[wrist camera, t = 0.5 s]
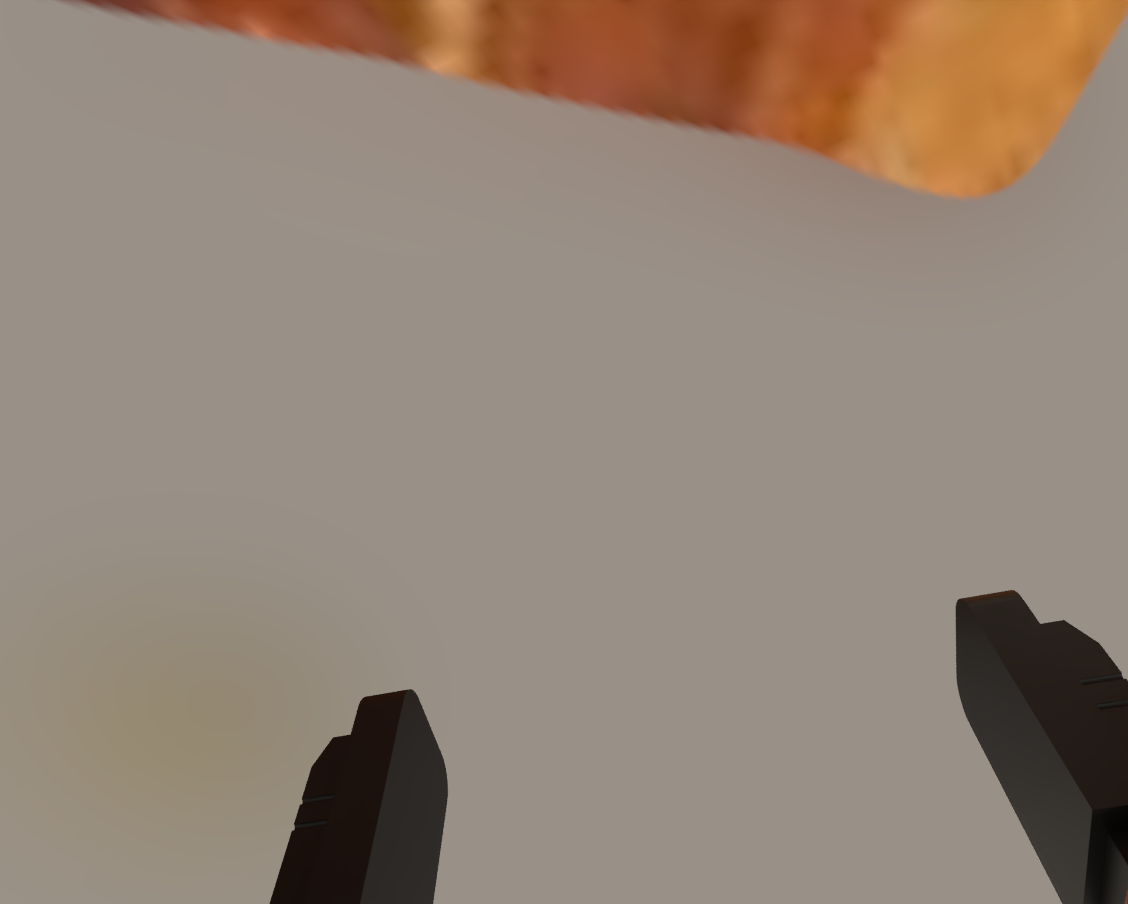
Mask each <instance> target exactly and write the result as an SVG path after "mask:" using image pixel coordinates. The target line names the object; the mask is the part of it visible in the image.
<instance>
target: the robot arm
mask: <svg viewBox="0 0 1128 904" xmlns="http://www.w3.org/2000/svg"><path fill="white" fill-rule="evenodd" d="M956 665H957V667H956V670H957V671H956V672H957V685H958V690H959V694H960V699H961V702H962V705H963V709H964V712H965V714H966V717H967V719H968V721H969V723H970V725H971V727H972V729H973V731H974V733H975V735H976V737H977V739H978V741H979V743H980V745H981V747H982V748H983V750H984V752H985V754H986V756H987V758H988V760H989V762H990V764H991V766H992V768H993V770H994V772H995V774H996V776H997V778H998V780H999V781H1000V783H1001V785H1002V787H1003V789H1004V791H1005V793H1006V795H1007V797H1008V799H1009V801H1010V803H1011V805H1012V807H1013V809H1014V811H1015V813H1016V814H1017V816H1018V818H1019V820H1020V822H1021V824H1022V826H1023V828H1024V830H1025V832H1026V834H1027V836H1028V837H1029V840H1030V842H1031V844H1032V846H1033V847H1034V849H1035V851H1036V853H1037V855H1038V857H1039V859H1040V861H1041V863H1042V865H1043V867H1044V869H1045V871H1046V873H1047V875H1048V877H1049V878H1050V880H1051V882H1052V884H1053V886H1054V888H1055V890H1056V892H1057V894H1058V896H1059V898H1060V900H1061V902H1062V904H1128V681H1127V679H1123V677H1122V673H1121V671H1120V670H1119V669H1118V667H1117V666H1116V665H1115V663H1114V662H1113V661H1112V659H1111V658H1110V657H1109V656H1108V654H1107V653H1106V652H1105V650H1104V649H1103V648H1102V646H1101V645H1100V644H1099V643H1098V642H1096V641H1095V640H1093V639H1092V638H1090V637H1089V636H1087V635H1086V634H1084V633H1083V632H1081V631H1080V630H1078V629H1077V628H1075V627H1074V626H1072V625H1070V624H1069V623H1067V622H1066V621H1065V620H1062V621H1056V622H1050V623H1044V624H1040V623H1039V622H1038V621H1037V619H1036V617H1035V616H1034V614H1033V613H1032V612H1031V610H1030V609H1029V607H1028V606H1027V604H1026V603H1025V601H1024V600H1023V599H1022V597H1021V596H1020V595H1019V594H1018V593H1017V592H1016V591H1014V590H1010V591H1004V592H998V593H992V594H986V595H980V596H975V597H968V598H962V599H959V600H958V601H957V603H956ZM447 797H448V784H447V773H446V768H445V763H444V759H443V757H442V754H441V751H440V749H439V747H438V744H437V742H436V740H435V737H434V735H433V732H432V730H431V727H430V725H429V722H428V720H427V718H426V715H425V713H424V710H423V708H422V705H421V703H420V701H419V698H418V696H417V695H416V693H415V692H414V691H413V690H411V689H409V690H403V691H397V692H391V693H385V694H379V695H374V696H367V697H364V698H363V699H362V700H361V701H360V704H359V706H358V710H357V715H356V717H355V721H354V725H353V728H352V732H351V735H346V736H340V737H334V738H332V740H331V741H330V743H329V744H328V745H327V747H326V748H325V750H324V751H323V752H322V754H321V755H320V756H319V758H318V759H317V760H316V762H315V763H314V765H313V766H312V768H311V771H310V774H309V778H308V781H307V784H306V787H305V791H304V793H303V797H302V800H303V804H302V805H300V806H299V810H298V813H297V817H296V820H295V823H294V825H295V830H294V831H292V832H291V836H290V839H289V842H288V845H287V849H286V852H285V855H284V858H283V862H282V865H281V868H280V871H279V875H278V878H277V881H276V885H275V888H274V891H273V895H272V897H271V901H270V904H433V900H434V892H435V886H436V878H437V871H438V863H439V856H440V849H441V842H442V835H443V828H444V820H445V813H446V806H447Z"/></svg>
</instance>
